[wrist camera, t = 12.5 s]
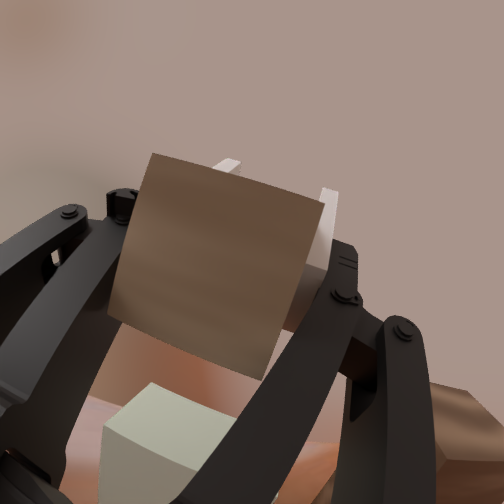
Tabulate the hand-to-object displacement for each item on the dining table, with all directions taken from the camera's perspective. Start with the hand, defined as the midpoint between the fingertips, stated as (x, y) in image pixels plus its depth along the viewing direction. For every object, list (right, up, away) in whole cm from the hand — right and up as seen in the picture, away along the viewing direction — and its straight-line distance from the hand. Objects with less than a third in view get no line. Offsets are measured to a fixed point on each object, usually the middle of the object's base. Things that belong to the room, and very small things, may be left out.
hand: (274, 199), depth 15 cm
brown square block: (-1, -4, +7) cm, 8 cm away
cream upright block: (-11, -37, +9) cm, 40 cm away
